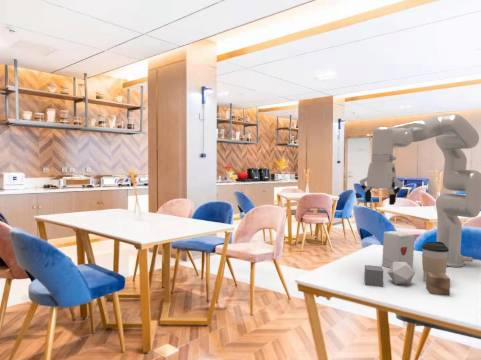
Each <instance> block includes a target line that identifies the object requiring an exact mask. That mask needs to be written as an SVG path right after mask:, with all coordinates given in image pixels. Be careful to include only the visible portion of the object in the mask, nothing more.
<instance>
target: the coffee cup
mask: <svg viewBox="0 0 481 360" xmlns="http://www.w3.org/2000/svg"><path fill="white" fill-rule="evenodd" d="M421 249H422V250H421V252H422V253H421V259H422V260H421V262H422V271H423V272H422V276H423V277H422V279H423V281H424V282H425V283H426V277H427V272H432V273H443V274H446V272H447V268H448V266H447V260H448V257H447V256H448V251H449V250H448V249H449V248H448V247H446V245H445V244H444V243H443V242H437V241H426V242H425V243H424V244H422V246H421Z"/></svg>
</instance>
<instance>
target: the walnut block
mask: <svg viewBox="0 0 481 360" xmlns="http://www.w3.org/2000/svg"><path fill="white" fill-rule="evenodd" d="M450 288H451V278H450V277H449V276H448V275H447V274H446V273H445V274H443V273H432V272H427V277H426V282H425V289H426V290H427V292H428V294H429V295H437V296H447V297H450V293H451V292H450V291H451V289H450Z"/></svg>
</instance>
